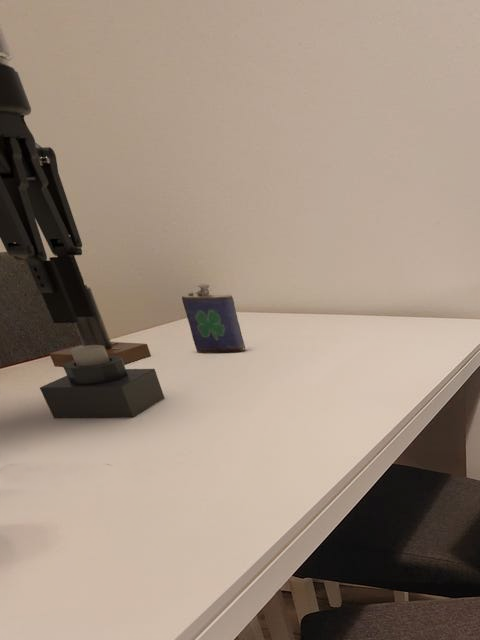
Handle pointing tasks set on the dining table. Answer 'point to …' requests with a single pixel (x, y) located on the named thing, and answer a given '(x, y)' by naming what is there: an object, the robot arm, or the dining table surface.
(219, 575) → the dining table surface
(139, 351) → the brown wooden flat block
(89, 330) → the black tall block
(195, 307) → the flask
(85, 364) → the white short cylinder
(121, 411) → the button base
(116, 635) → the dining table surface
